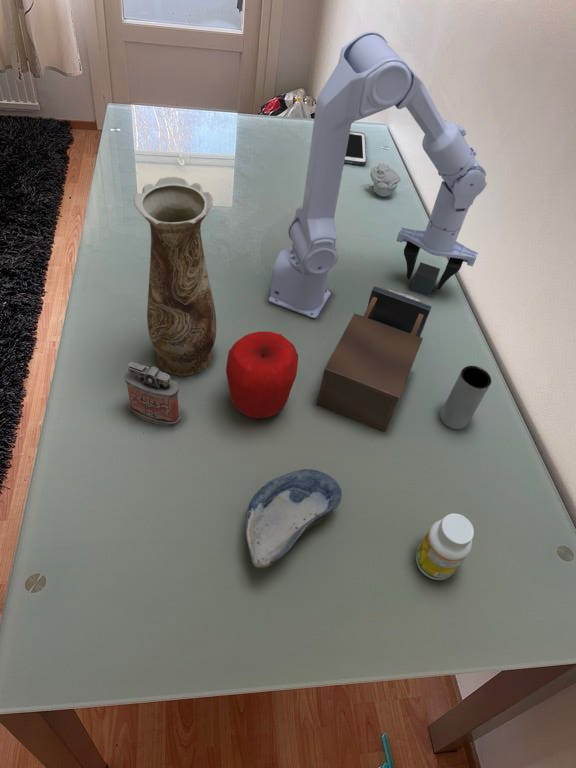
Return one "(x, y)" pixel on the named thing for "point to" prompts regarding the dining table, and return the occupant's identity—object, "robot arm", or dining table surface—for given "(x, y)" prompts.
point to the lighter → (152, 395)
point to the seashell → (287, 512)
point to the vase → (178, 275)
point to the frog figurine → (384, 179)
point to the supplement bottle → (445, 546)
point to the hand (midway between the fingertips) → (424, 281)
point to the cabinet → (368, 371)
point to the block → (424, 279)
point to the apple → (261, 373)
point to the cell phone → (356, 149)
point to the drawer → (397, 310)
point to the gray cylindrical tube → (465, 397)
